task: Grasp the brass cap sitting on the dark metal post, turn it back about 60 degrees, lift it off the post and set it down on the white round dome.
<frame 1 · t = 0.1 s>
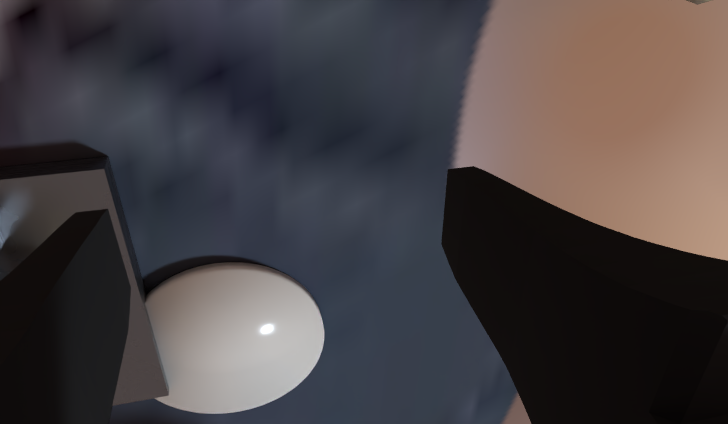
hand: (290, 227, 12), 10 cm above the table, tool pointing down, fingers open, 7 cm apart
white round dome: (227, 338, 27), on the table
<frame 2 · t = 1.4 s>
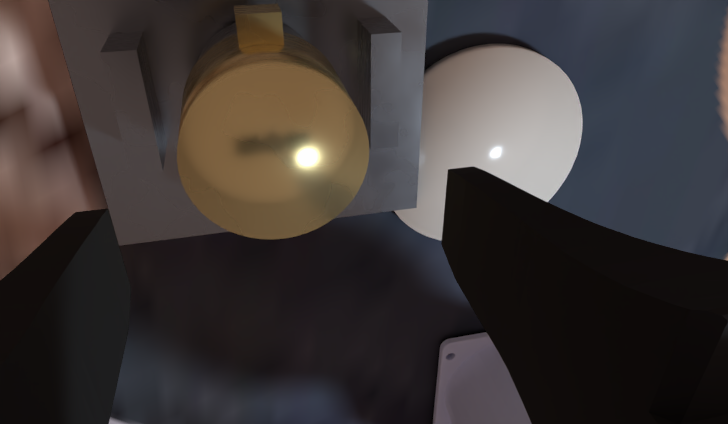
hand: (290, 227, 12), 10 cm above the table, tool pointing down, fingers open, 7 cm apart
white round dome: (478, 148, 25), on the table
cap: (265, 110, 18), point 3 cm above the table, touching post base
post base: (258, 74, 21), on the table
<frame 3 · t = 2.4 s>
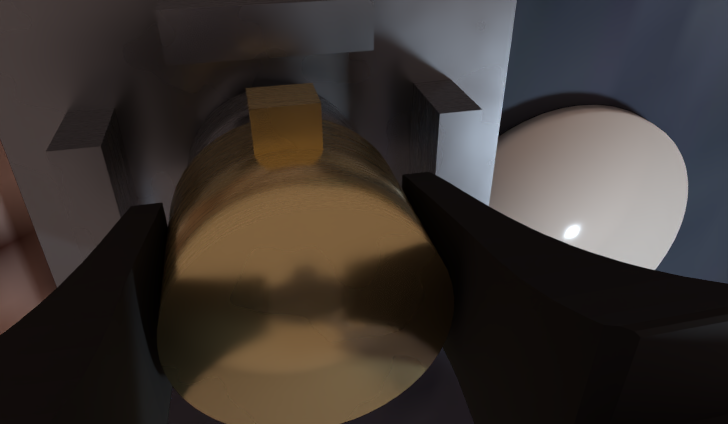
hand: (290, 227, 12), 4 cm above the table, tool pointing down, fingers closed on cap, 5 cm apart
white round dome: (553, 231, 19), on the table
cap: (289, 222, 12), point 3 cm above the table, touching gripper, post base
post base: (274, 152, 15), on the table
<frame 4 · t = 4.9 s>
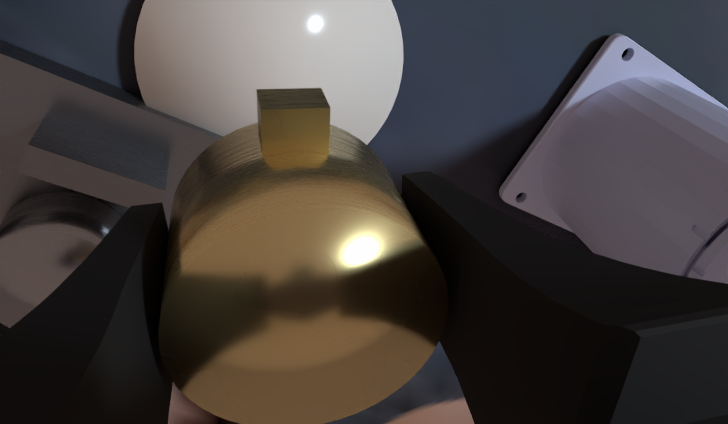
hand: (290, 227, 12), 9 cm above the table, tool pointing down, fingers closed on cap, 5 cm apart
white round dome: (274, 64, 20), on the table
cap: (288, 222, 13), point 9 cm above the table, touching gripper
post base: (73, 229, 21), on the table
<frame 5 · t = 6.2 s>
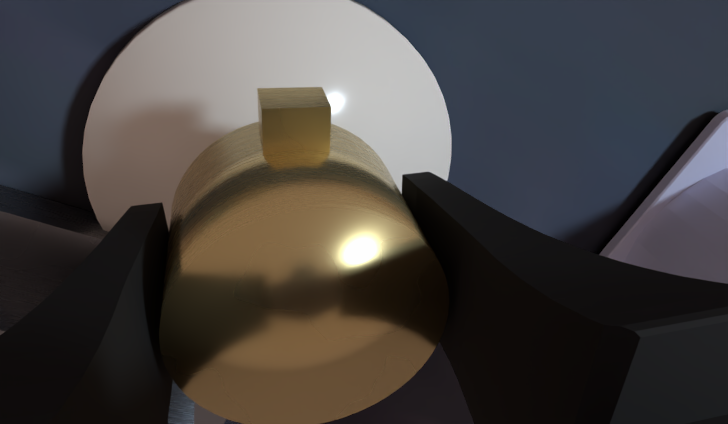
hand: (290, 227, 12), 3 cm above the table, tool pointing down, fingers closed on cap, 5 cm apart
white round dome: (278, 165, 15), on the table
cap: (288, 222, 13), point 3 cm above the table, touching gripper
post base: (17, 374, 16), on the table
when the fingers open (3 cm above the table, at t = 7.2 s): cap drops 2 cm, resting on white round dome.
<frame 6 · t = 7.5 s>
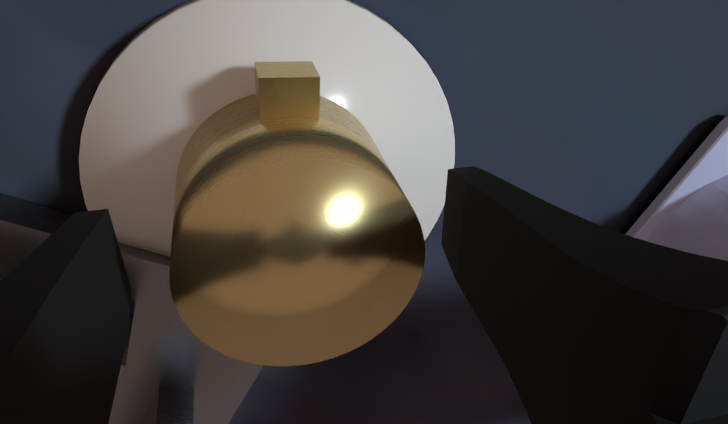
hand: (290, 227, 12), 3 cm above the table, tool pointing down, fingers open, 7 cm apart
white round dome: (278, 171, 14), on the table
cap: (282, 187, 14), point 1 cm above the table, touching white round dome
post base: (13, 382, 16), on the table
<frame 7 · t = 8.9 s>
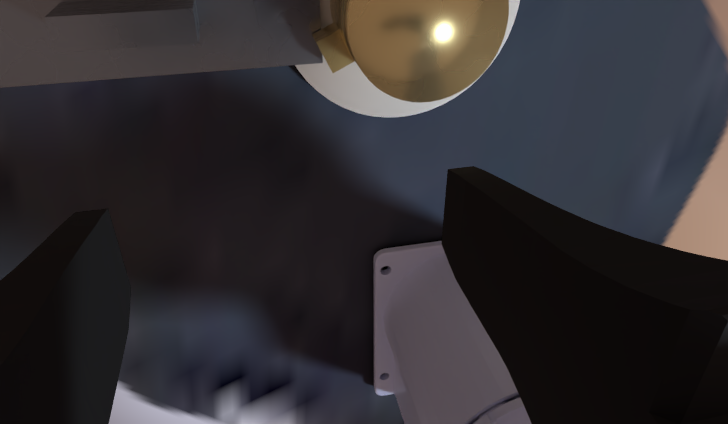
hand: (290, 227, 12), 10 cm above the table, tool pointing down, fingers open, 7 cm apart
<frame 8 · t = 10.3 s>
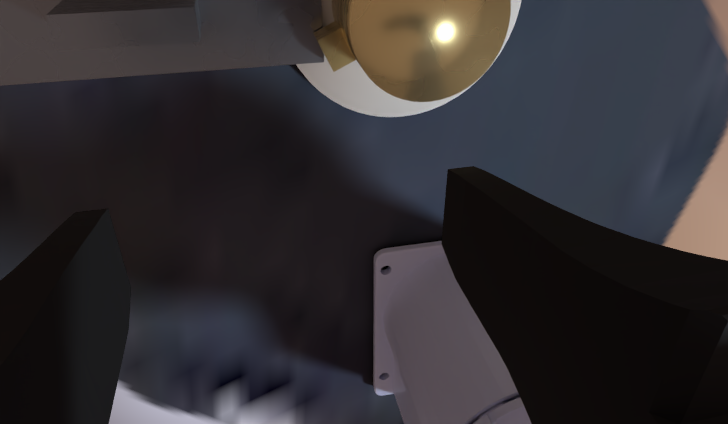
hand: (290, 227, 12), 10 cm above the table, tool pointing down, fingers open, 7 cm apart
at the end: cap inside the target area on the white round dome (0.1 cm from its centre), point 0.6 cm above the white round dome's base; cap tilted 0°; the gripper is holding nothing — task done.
